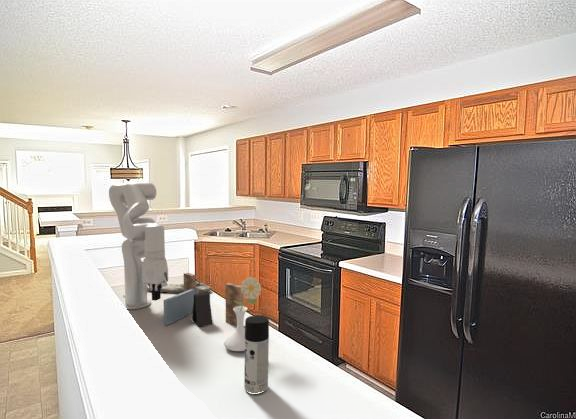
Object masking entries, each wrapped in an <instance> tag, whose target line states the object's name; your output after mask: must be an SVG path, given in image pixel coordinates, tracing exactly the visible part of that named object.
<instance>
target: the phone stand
mask: <svg viewBox="0 0 576 419" xmlns="http://www.w3.org/2000/svg"><path fill="white" fill-rule="evenodd" d="M212 315H213V314H212V306H211V294H210V292H207V293H198V294H194V303H193V312H192V313H191V321H192V322H193V323H194V324H195V325H196V327H197V328H201V327H205V326H206V327H207V326H209V325H213V316H212Z"/></svg>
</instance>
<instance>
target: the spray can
mask: <svg viewBox="0 0 576 419" xmlns="http://www.w3.org/2000/svg"><path fill="white" fill-rule="evenodd" d="M269 319H270V318H268V317H267V316H265V315H251V316H250V315H249V316H247V317H246V318H245V320H244V321H245V322H244V329H245V351H244V380H243V381H244V383H243V384H244V386H243V387H244V390H246V391H248V392H251V393H258V392H262V391H265V390H266V389H267V390H268V388H269V349H270V347H269V346H270V345H269V343H270V342H269V340H270V337H269V336H270V331H269V330H270V324H269V322H270V320H269ZM267 387H268V388H267ZM267 390H266V391H267ZM246 391H245V392H246ZM266 391H265V392H266Z"/></svg>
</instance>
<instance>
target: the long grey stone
mask: <svg viewBox="0 0 576 419" xmlns="http://www.w3.org/2000/svg"><path fill="white" fill-rule="evenodd" d="M196 287H198V294H201V293H207V292H208V293H210V292H211V290H212V287H211V286H209V285H208V284H207V283H204V282H199V281H197V280H196ZM148 291H149V292H150V291H151V290H150V287H149V286H148V285H147V292H148ZM151 292H152V291H151ZM161 292H169V293H168V294H180V293H183V292H184V283H181V284H180V283H167V286H165V287H162V289H161V290H160V293H161Z"/></svg>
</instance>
